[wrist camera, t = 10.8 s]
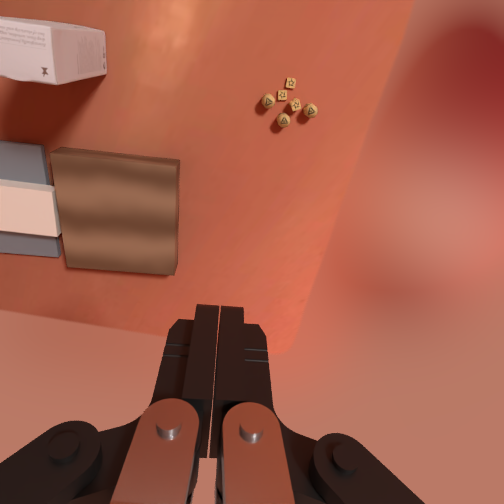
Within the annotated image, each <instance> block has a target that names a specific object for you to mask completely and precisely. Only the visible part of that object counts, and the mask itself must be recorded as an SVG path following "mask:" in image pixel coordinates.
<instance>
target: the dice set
mask: <svg viewBox="0 0 504 504" xmlns="http://www.w3.org/2000/svg"><path fill="white" fill-rule="evenodd" d="M295 82H296V79H293V78H288V77H287V81H286V86H285V87H288V88H293V89H294V87H295ZM278 100H287V90H278ZM262 105H263V106H264V107H265V108H272V107H273V106H274V105H275V98H274V97H273V96H272V95H271V94H265V95H264V96H263V97H262ZM289 105H290V106H291V108H292V111H295V110H298V109H301V104H300V101H299V99H296V98H294V99H293V100H292V101H290V103H289ZM303 111H304V114H305V115H306V116H307V117H309V118H313V117H315V116H316V114H317V113H318V111H317V107H316V106H315V105H313V104H312V103H309V104H306V105H305V106H304V108H303ZM277 123H278V125H279V126H281V127H282V128H283V127H287V126H288V125H289V124H290V117H289V116H288V115H287V114H286V113H280V114H279V115H278V116H277Z"/></svg>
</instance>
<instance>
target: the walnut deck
mask: <svg viewBox="0 0 504 504" xmlns="http://www.w3.org/2000/svg"><path fill="white" fill-rule="evenodd" d="M50 159H51V166H52V172H53V179H54V185H55V192H56V198H57V205H58V211H59V218H60V224H61V231H62V237H63V244H64V250H65V257H66V263H67V267H74V268H86V269H99V270H111V271H124V272H136V273H149V274H161V275H175V271H176V268H177V264H178V221H179V176H180V160H176V159H167V158H158V157H149V156H139V155H130V154H121V153H112V152H103V151H93V150H84V149H75V148H66V147H60V148H58V149H56V150H55V151H53V152H51V153H50Z"/></svg>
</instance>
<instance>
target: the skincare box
mask: <svg viewBox="0 0 504 504" xmlns="http://www.w3.org/2000/svg"><path fill="white" fill-rule="evenodd" d="M106 73H107V66H106V43H105V32H104V31H101V30H98V29H93V28H89V27H85V26H79V25H74V24H67V23H60V22H53V21H43V20H33V19H23V18H12V17H1V16H0V77H5V78H10V79H14V80H18V81H30V82H37V83H44V84H51V85H61V84H65V83H70V82H74V81H78V80H83V79H88V78H92V77H97V76H101V75H105V74H106Z"/></svg>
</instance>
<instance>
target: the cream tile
mask: <svg viewBox="0 0 504 504" xmlns="http://www.w3.org/2000/svg"><path fill="white" fill-rule="evenodd" d="M0 230H1V231H10V232H19V233H27V234H36V235H45V236H54V237H58V236H59V235H60V234H61V233H62V231H61V224H60V218H59V211H58V205H57V198H56V192H55V186H51V185H43V184H35V183H27V182H20V181H12V180H4V179H0Z"/></svg>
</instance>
